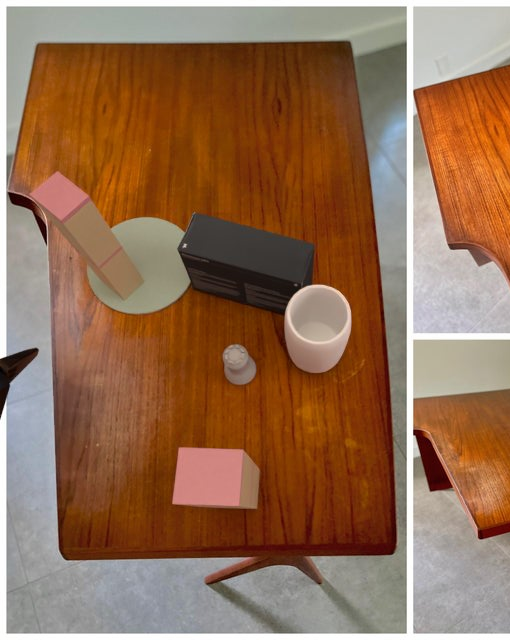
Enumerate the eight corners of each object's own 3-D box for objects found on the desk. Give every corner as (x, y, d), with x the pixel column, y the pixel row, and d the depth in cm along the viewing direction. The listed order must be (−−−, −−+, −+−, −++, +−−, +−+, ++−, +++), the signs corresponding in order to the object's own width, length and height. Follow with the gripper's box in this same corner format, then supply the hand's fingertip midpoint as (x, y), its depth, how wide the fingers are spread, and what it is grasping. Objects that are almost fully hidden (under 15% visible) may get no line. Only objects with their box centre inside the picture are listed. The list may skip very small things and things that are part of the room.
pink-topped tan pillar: (125, 300, 77) (60, 220, 56) (100, 280, 78) (28, 194, 57) (145, 281, 79) (89, 195, 58) (121, 261, 80) (57, 170, 58)
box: (314, 280, 80) (316, 242, 69) (301, 320, 78) (302, 287, 67) (207, 251, 81) (193, 209, 70) (192, 290, 79) (174, 252, 68)
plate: (97, 327, 76) (96, 326, 76) (80, 233, 82) (79, 231, 81) (207, 298, 79) (206, 297, 78) (183, 208, 84) (183, 206, 83)
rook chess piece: (228, 389, 74) (220, 375, 67) (221, 359, 76) (213, 342, 68) (259, 381, 75) (255, 366, 67) (252, 351, 76) (247, 333, 69)
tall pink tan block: (210, 507, 69) (171, 504, 48) (214, 467, 70) (178, 446, 49) (257, 509, 69) (239, 506, 48) (260, 468, 71) (243, 449, 50)
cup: (277, 332, 77) (273, 294, 64) (331, 313, 79) (338, 272, 65) (297, 386, 75) (297, 358, 61) (353, 365, 76) (364, 334, 63)
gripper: (-71, 376, 43) (84, 323, 56) (-207, 243, 46) (-30, 223, 60) (-87, 463, 48) (59, 395, 62) (-209, 337, 51) (-46, 300, 65)
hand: (10, 327), depth 62 cm, fingers open, 9 cm apart
